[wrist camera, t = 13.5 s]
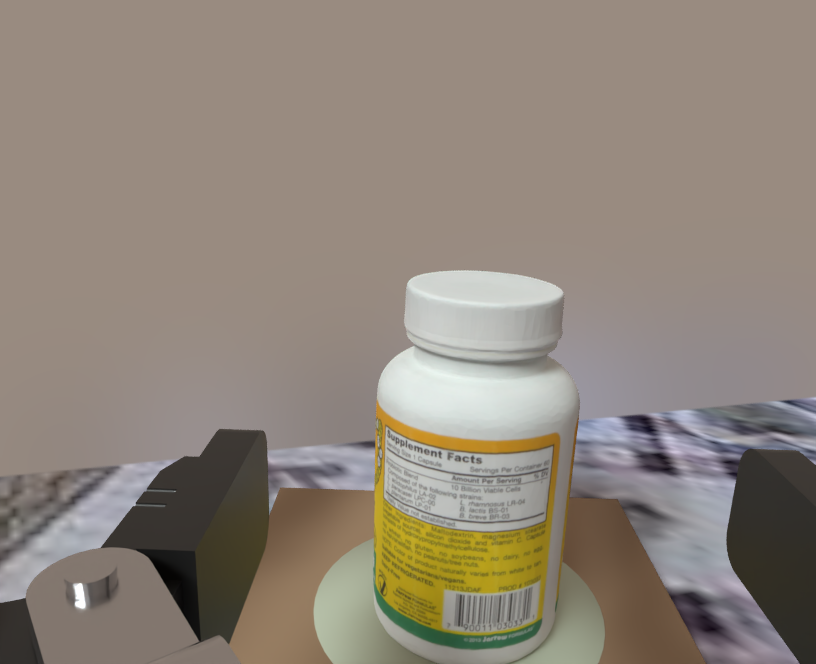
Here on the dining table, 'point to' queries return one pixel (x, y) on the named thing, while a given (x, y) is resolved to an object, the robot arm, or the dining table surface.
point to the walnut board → (388, 660)
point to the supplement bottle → (473, 469)
